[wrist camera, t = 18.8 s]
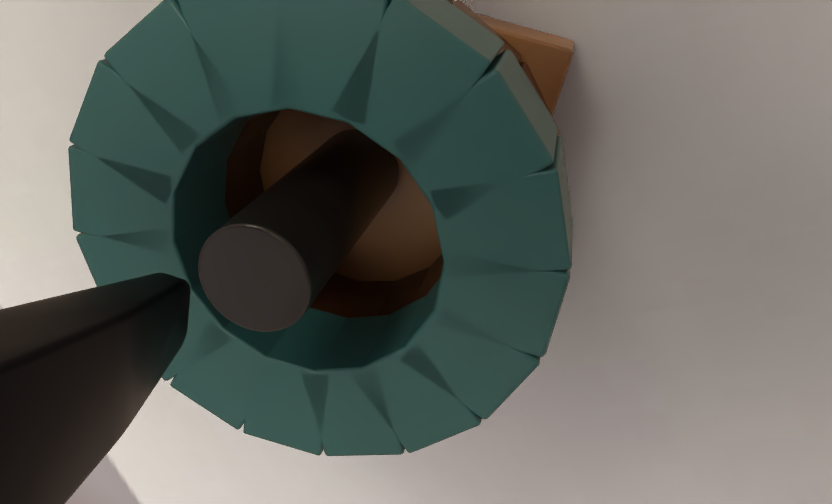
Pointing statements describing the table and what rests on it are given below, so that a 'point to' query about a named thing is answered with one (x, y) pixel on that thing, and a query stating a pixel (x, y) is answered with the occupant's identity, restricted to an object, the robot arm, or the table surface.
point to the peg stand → (337, 208)
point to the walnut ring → (339, 290)
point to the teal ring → (390, 128)
